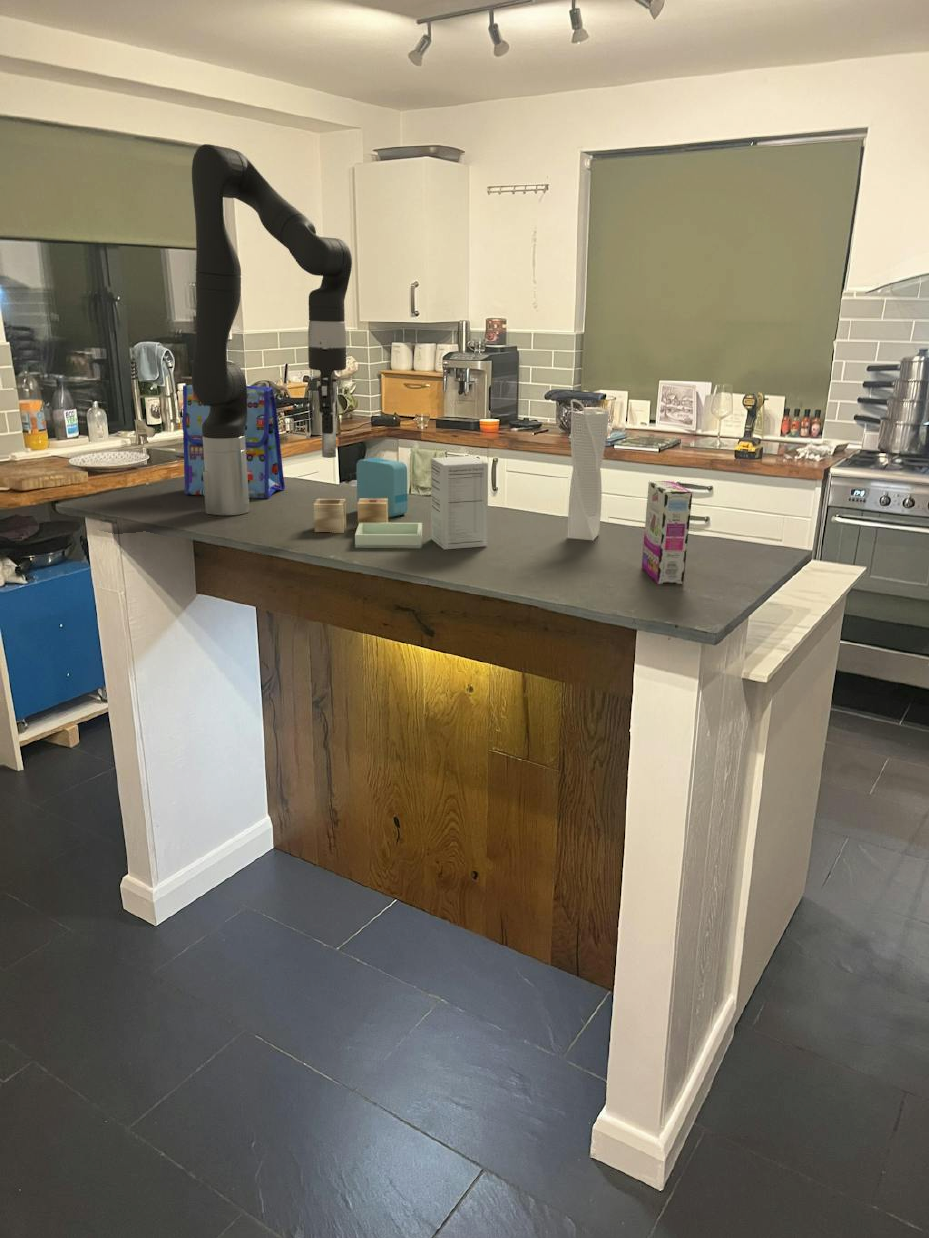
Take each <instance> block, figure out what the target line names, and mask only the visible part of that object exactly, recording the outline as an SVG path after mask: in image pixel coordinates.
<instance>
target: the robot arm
mask: <svg viewBox="0 0 929 1238" xmlns="http://www.w3.org/2000/svg"><path fill="white" fill-rule="evenodd" d="M191 163H192V165H191V182H192V183H191V184H192V196H193V206H194V217H195V218H194V219H195V245H196V246H195V251H196V252H195V253H196V255H195V256H196V257H195V259H196V261H195V338H194V339H195V340H194V351H193V359H192V368H191V369H192V371H191V385H192V388H193V392H194V394H195V396H196V398H197V399H198V400H199V401H200V402H201V403H202V404H204V405H206V406H210V413H209V415H208V417H207V419H206V420H205V421H204V423H203V424H202V436H203V448H204V461H205V471H204V472H203V481H204V494H205V496H204V504H205V514H206V515H216V516H238V515H242V514H247V513H249V512H250V511H251V508H250V498H249V491H248V475H247V460H246V445H245V426H246V423H247V386H248V385H247V381H246V376H245V373H244V372H243V370H242V368H241V367H240V365H237V364H236V363H235V362H232V361H229V360H228V356H227V353H228V351H227V350H228V348H227V347H228V340H229V335H230V332H231V329H232V327H233V323H234V321H235V318H236V316H237V313H238V309H239V307H240V302H241V293H242V268H241V263H240V259H239V257H238V254H237V252H236V249H235V247H234V245H233V242H232V239H231V238H230V236H229V234H228V230H227V229H226V224H225V219H224V218H225V217H224V198H227V199H235V200H238V201H240V202H242V203H244V204H246V205H247V206H249V207H251V209H253V211H255V212H256V213H257V215H258V218H259V219H260V222H261V224H262V226H263V227H264V229H265V230H266V231H267V232H268V234H269V235H270V236H272V238H274V239H275V240H277V241H278V242H279V243H280V244H281V245H283V246H284V247H285V248H286V249H287V250H288V252H289V253H290V255H291V256H292V257H293V259H294V260H295V262H296V263H297V264H298V266H299V267H300V268H301V269H302V270H304V271H305V272H307V273H308V274H310V275H313V276H317V277H318V276H319V277H322V278H321V284H320V286H319V287H318V288H316V289H314V290H311V291H310V293H309V295H308V328H307V329H308V330H307V346H308V348H307V351H308V352H307V354H308V368H309V369H311V370H314V371H319V372H320V374H319V375H320V377H319V378H318V379H316V388H317V391H318V392H317V397H318V399H317V401H318V406H319V408H318V411H319V413H320V415H321V434H322V433H324V434H332V433H333V413H334V411H333V404H334V403H335V412H336V411H337V407H338V405H337V402H338V387H339V378H336V374H335V373H336V372H337V371H345V370H346V368H347V331H346V330H347V329H346V325H345V324H346V323H345V320H346V319H345V315H346V314H345V299H346V294H347V292H348V286H349V282H350V277H351V273H352V269H353V267H352V266H353V258H352V253H351V252H352V251H351V250H350V247H349V245H348V244H347V243H346V242H345V241H344V240H342V239H340V238H337V237H325V236H319V235H318V234H317V231H316V227H315V225H314V223H313V222H312V221H311V220H310V219H309V218H308V217H307V216H305V214H303V213H302V212H301V211H300V210H299V209H297V208H296V207H294V205H292V204H291V203H289V202H288V201H287V200H286V199H285V198H284V197H283V196H282V195H280V193H278V192H277V190H276V189H274V188H273V186H272V185H271V184H270V183H269V182H268V181H267V180H266V178H264V176H263V175H262V174H261V173H260V172H259V170H258V169H257V168H256V166H255V165H254V164H253V163H252V162H251V161H250V160H249V158H247V156H246V155H244V153H242V152H240V151H238V150H235V149H232V148H227V147H223V146H219V145H215V144H208V143H207V144H206V143H204V144H202V145H200V146H199V147H198V148H197V149H196V151H195V153H194V154H193V158H192V162H191ZM335 371H336V372H335ZM332 395H333V398H332ZM324 403H329V407H325V406H324Z"/></svg>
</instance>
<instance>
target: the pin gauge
mask: <svg viewBox="0 0 929 1238" xmlns="http://www.w3.org/2000/svg"><path fill="white" fill-rule="evenodd" d="M332 398H333V395H332ZM324 406H325V407H329V403H324ZM333 411H334V413H333V433H332V434H324V433H322V432H321V452H322V453H321V456H322V458H324V459H325V458H327V459H332V458H333V459H334V458H337V446H336V445H337V444H336V443H337V442H336V439H337V438H336V437H337V436H336V435H337V434H336V433H337V432H336V430H337V429H336V427H337V426H336V423H337V422H336V411H335V403H334V404H333Z"/></svg>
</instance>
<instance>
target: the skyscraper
mask: <svg viewBox="0 0 929 1238" xmlns="http://www.w3.org/2000/svg"><path fill="white" fill-rule="evenodd" d="M569 401H570V410H571V417H570V418H571V419H570V420H571V421H570V452H571V453H570V455H571V465H572V473H571V479H570V480H571V481H570V487H569V496H568V511H567V515H568V516H567V539H574V540H575V539H576V540H586V541H594V540H595V539H596V538H597V536H599V535H600V528H601V527H600V526H601V516H602V498H603V497H602V496H603V495H602V493H603V492H602V490H603V489H602V488H603V487H602V470H601V467H602V463H603V459H604V455H605V454H604V453H605V449H606V443H607V433H608V425H609V424H608V423H609V411H608V410H607V409H606V408H603V407H599V406H595V407H591V406H590V407H585V405H584V404H583V403H582V402H581V401H580V400H578V399H574V398H573V399H571V400H569ZM574 402H575V403H577V404H578V405H580V407H581V408H582V411H575V410H574ZM598 410H599V411H598Z"/></svg>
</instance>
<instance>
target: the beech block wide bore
mask: <svg viewBox="0 0 929 1238" xmlns="http://www.w3.org/2000/svg"><path fill="white" fill-rule="evenodd" d="M346 513H347V511H346V498H317V499H315V502H314V503H313V520H314V522H313V523H314V533H315V532H330V533H329V534H344V533H345V531H344V530H346V527H347V514H346ZM331 532H332V533H331Z"/></svg>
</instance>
